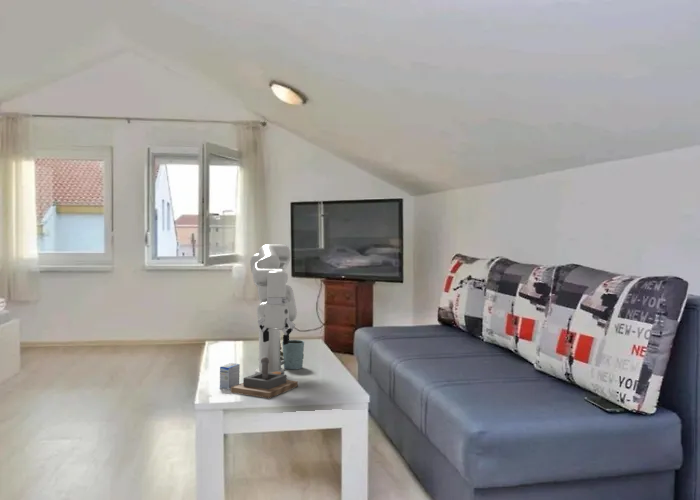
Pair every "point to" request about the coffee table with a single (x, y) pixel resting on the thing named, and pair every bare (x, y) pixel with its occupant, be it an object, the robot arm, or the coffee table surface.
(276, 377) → the grey square frame
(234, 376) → the medicine box
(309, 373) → the coffee table surface
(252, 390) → the wooden peg stand
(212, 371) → the coffee table surface
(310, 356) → the coffee table surface
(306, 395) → the coffee table surface
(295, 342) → the teal cup
